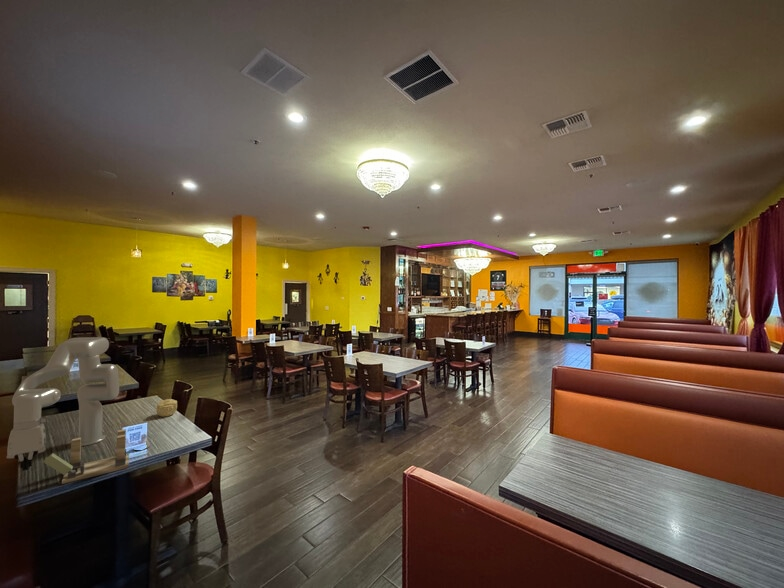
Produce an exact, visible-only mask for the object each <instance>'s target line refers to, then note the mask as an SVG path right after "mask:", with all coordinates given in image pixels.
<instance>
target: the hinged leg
mask: <svg viewBox="0 0 784 588" xmlns="http://www.w3.org/2000/svg"><path fill="white" fill-rule="evenodd" d="M43 463H44V464H45V465H47V466H49V467H51V468H52V469H54V470H55V471H57V472H58V473H60V474H61V475H63V476H64V475H66V474H67V473H73V472H76V470H72V468H73V466H72V465H70V463H68V462H67V461H66V460H64V459H63V458H61V457H59V456H58V455H56V454H55V453H53V452H52V453H51V454H50V455H48V456H47V457H45V458H44V460H43Z"/></svg>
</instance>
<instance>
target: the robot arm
mask: <svg viewBox="0 0 784 588" xmlns="http://www.w3.org/2000/svg"><path fill="white" fill-rule="evenodd" d="M109 347H110V342H109V340H108V338H107V337H102V336H101V337H100V336H99V337H96V336H94V337H93V336H91V337H86V336H85V337H72V338H69V339H67V340H66V341H62V342H61V343H59V344H58V346H57V347H56V349H55V350H54V352H53V354H52V355H51V357H50V359H49V360H48V362H47V363H46V365H45V366H44V367H42V368H41V369H39V370H37V371H35V372H34V373H32V374H31V375H29V376H28V377H26V378H25V379H23V380H22V382H21V383H20V384H19V385H18V388H17V389H16V390H15V392H14V393H13V396H12V397H11V398H12V400H11V403H12V406H13V428H12V429H11V431H10V432H9V433H10V434H9V437H8V441H7V447H6V448H7V450H6V452H7V455H6V459H16V460H18V461H19V462H20V469H21V471H22V472H24V471H29V470H30V468H31V467H32V466H33V458H34V457H35V456H36V455H37V454H40V453H44V452H46V450H47V449H46V443H47V440H46V439H47V438H46V428H45V424H44V423H46V422H47V418H42V408H46V407H49V406H52V405H54V404H56V403H57V402H59V400H60V399H61V397H62V396H61V395H62V394H61V393H62V392H61V390H59V389H58V388H55V387H54V388H53V387H48V388H38V387H39V386H40V385H42V384H44V383H46V382H48V381H51V380H54V379H57V378H61V377H64V376H65V375H68V373H70V371H71V369H72V367H73V365H74V363H75V362H76V360H78V373H79V380H80V381H81V382H82V383H86V384H83V385H81V386H80V387H79V388H78V389H77V391H76V397H77V401H78V410H79V411H78V438H81V447H82V446H84V447H85V446H90V445H95V444H98V443H100V442H103V441H105V439H107V438H106V437H107V436H106V434H103V415H104V414H103V411H104V408H103V405H102V403H101V402H100V401H109V400H111V401H112V400H114V399H116V398H117V397H118V396H119V394H120V378H119V369H118V367H117V365H115V364H114V363H113V364H112V363H103V364H102V363H101V360H100V355H101V354H104V353H105V352H107V351H108V349H109ZM27 453H28V456H27V457H26V454H27Z"/></svg>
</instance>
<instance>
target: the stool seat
mask: <svg viewBox="0 0 784 588" xmlns="http://www.w3.org/2000/svg"><path fill="white" fill-rule="evenodd" d="M126 431H127V429H126V428H125V429H119V430H117V437H116V451H115V456H110V457H106V458H102V459H98V460H93V461H89V462H85V463H82V462H83V461H82V458H81V457H82V446H81V438H79V437H76V438H73V439H71V441H70V463H69V464H70V465H72V466H73V468H72V470H76V472H73V473H67V474H66V475H63V477H62V480H61V484H62V485H63V484H68V483H72V482H76V481H80V480H84V479H88V478H92V477H97V476H100V475H105V474H109V473H112V472H117V471H120V470H121V471H122V470H124V469H129V468H130V467H129V466H130V453H129V454H128V453H127V449H126V437H127V436H126V435H127V434H126V433H127V432H126ZM126 454H127V455H126Z"/></svg>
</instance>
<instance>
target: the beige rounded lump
mask: <svg viewBox="0 0 784 588" xmlns="http://www.w3.org/2000/svg"><path fill="white" fill-rule="evenodd" d="M177 409H178V400H175V399H172V398H166V399H162V400H161V401H160V402H158V403H157V404H156V414H157V415H158V416H159V417H162V418H166V417H170V415H171V416H173V415H174V414H176V412H177Z"/></svg>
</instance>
